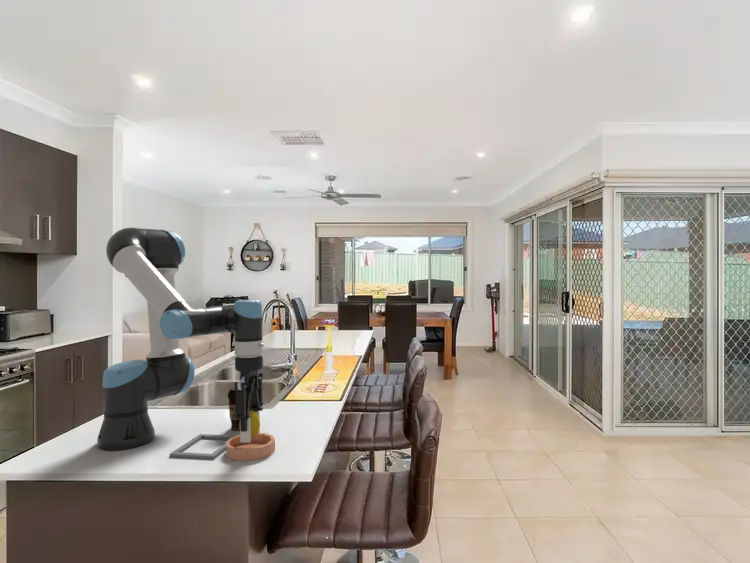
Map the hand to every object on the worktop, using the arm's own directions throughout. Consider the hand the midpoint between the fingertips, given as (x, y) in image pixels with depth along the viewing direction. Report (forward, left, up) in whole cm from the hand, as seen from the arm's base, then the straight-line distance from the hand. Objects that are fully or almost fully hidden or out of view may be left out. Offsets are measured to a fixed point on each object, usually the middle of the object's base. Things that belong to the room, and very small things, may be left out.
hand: (250, 437), depth 130 cm
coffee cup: (-11, +19, -4) cm, 23 cm away
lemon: (0, 0, -1) cm, 1 cm away
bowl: (0, 0, -4) cm, 4 cm away
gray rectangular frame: (-14, +1, -4) cm, 14 cm away
